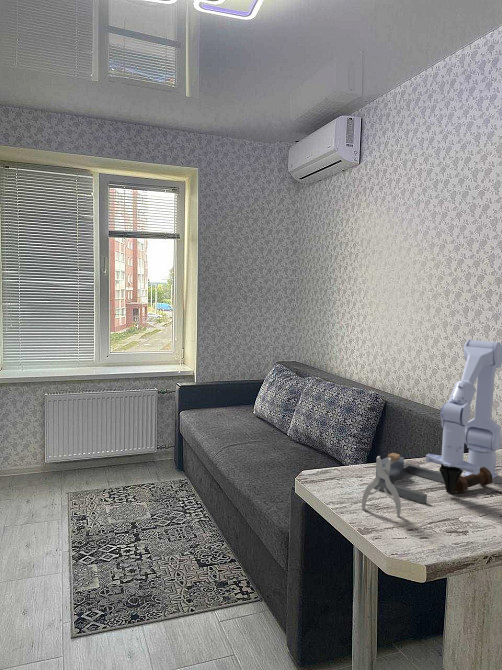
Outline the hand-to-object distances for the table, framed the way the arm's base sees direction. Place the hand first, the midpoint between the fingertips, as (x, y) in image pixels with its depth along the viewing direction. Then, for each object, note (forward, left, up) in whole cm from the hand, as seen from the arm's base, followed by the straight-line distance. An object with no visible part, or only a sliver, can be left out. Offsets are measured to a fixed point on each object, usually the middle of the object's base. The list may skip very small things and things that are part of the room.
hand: (450, 492), depth 145 cm
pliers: (+24, -8, -2) cm, 25 cm away
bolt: (-2, -1, 0) cm, 2 cm away
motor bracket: (0, -9, -1) cm, 9 cm away
